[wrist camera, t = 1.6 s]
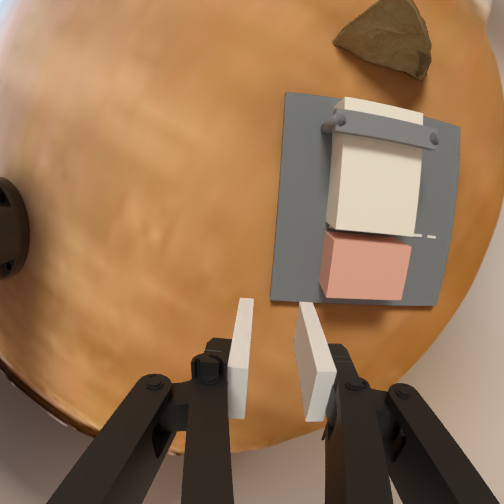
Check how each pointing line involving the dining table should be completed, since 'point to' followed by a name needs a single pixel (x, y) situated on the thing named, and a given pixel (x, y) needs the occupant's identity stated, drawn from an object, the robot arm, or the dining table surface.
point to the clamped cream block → (375, 166)
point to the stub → (363, 266)
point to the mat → (314, 226)
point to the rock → (390, 37)
